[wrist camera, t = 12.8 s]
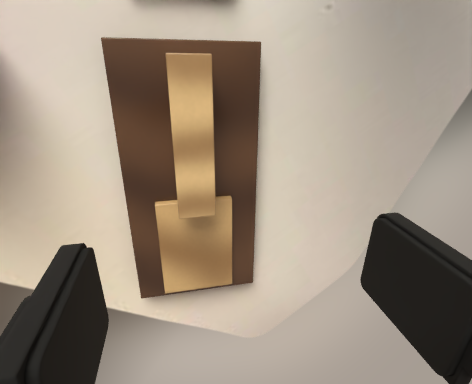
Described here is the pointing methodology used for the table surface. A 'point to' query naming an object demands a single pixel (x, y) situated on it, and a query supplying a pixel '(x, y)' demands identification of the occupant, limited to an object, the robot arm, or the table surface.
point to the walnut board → (161, 145)
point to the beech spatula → (193, 184)
